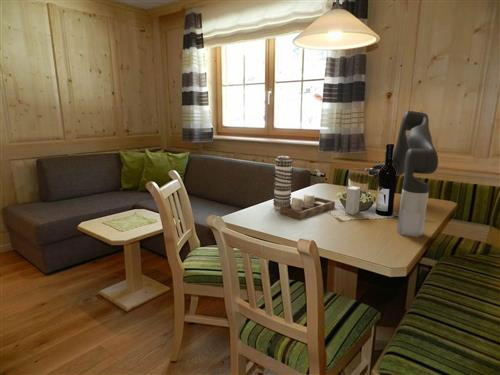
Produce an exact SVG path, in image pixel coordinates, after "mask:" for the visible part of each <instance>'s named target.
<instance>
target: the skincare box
mask: <svg viewBox="0 0 500 375" xmlns="http://www.w3.org/2000/svg"><path fill="white" fill-rule="evenodd" d="M361 188H362V187H359V186H353V185H352V186H350V187H348V188H346V189H347V190H346V199H345V200H346V201H345V210H344V211H345V214H349V215H352V216H353V215H355V214H357V213H358V212H359V211H360V198H361Z"/></svg>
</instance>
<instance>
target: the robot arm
mask: <svg viewBox="0 0 500 375" xmlns="http://www.w3.org/2000/svg"><path fill="white" fill-rule="evenodd" d="M429 122H430V120H429V115H428V114H427V113H425V112H421V111H415V110H407V111H405V112H404V113H403V116H402V119H401V122H400V123H401V124H400V126H399V127H400V128H399V131H398V136H397V139H396V144H395V148H394V150H393V153H392V155H393V158H392V164H393V166H394V168H395V169H396V172H397V177H401V176H402V175H403V174H404V175H403V180H402V188H401V194H400V195H401V196H400V204H399V211H398V212H399V213H398V219H397V220H398V221H397V227H396V231H397V233H398V234H400V235H402V236H407V237H412V238H413V237H414V238H419V237H422V236H423V234H424V233H423V232H424V228H425V219H426V215H427V214H426V213H427V205H428V199H429V193H430V185H429V184H428V182H424V181H422V180H420V179H418V178H417V177H415V176H414V174H425V175H429V174H430V175H431V174H434V173H435V172H436V171H437V169H438V167H439V156H438V153H437V150H436V148H435V146H434V144H433V139H432V134H431V131H430V126H429V125H430V124H429ZM407 131H408V132H407ZM385 163H386V162H381V163H378V164H375V165H373V166H372V167H371V168H366V167H364V168H358V170H361V171H369V177H372V178H374V180H375V179H376V180H379V179H378V178H379V171H380V169H381V168H382V167H383V166H384V164H385ZM358 170H357V171H358Z"/></svg>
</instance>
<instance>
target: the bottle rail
mask: <svg viewBox="0 0 500 375" xmlns="http://www.w3.org/2000/svg"><path fill="white" fill-rule="evenodd" d="M335 206H336V201H335V200H330V199H327V198H326V199H325V198H322V197H317V196H315V195H314V194H309V193H308V194H304V195H303V198H302V197H291V204H290V205H287V206H284V207H281V208H280V209H279V212H280V215H283V216H288V217H289V218H290V217H291V218H293V219H295V220H296V219H297V220H302V219H305V218H307V217H310V216H314V215H317V214H320V213H322V212H325V211H328V210H331V209H334V208H335Z"/></svg>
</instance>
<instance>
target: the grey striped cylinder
mask: <svg viewBox="0 0 500 375" xmlns="http://www.w3.org/2000/svg"><path fill="white" fill-rule="evenodd" d="M292 164H293V159H292V158H291V157H290V156H289V155H288V156H287V155H277V157H276V158H275V165H274V166H275V167H274V168H275V169H274V171H273V176H274V178H273V184H274V192H273V198H274V199H273V203H272V205H273V206H272V207H273V208H274V209H276V210H280V208H281V207H284V206H287V205H290V204H292V193H291V187H292V186H291V185H293V183H292V181H293V175H292V174H293V173H294V171H293V170H294V168H292V167H293V165H292Z"/></svg>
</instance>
